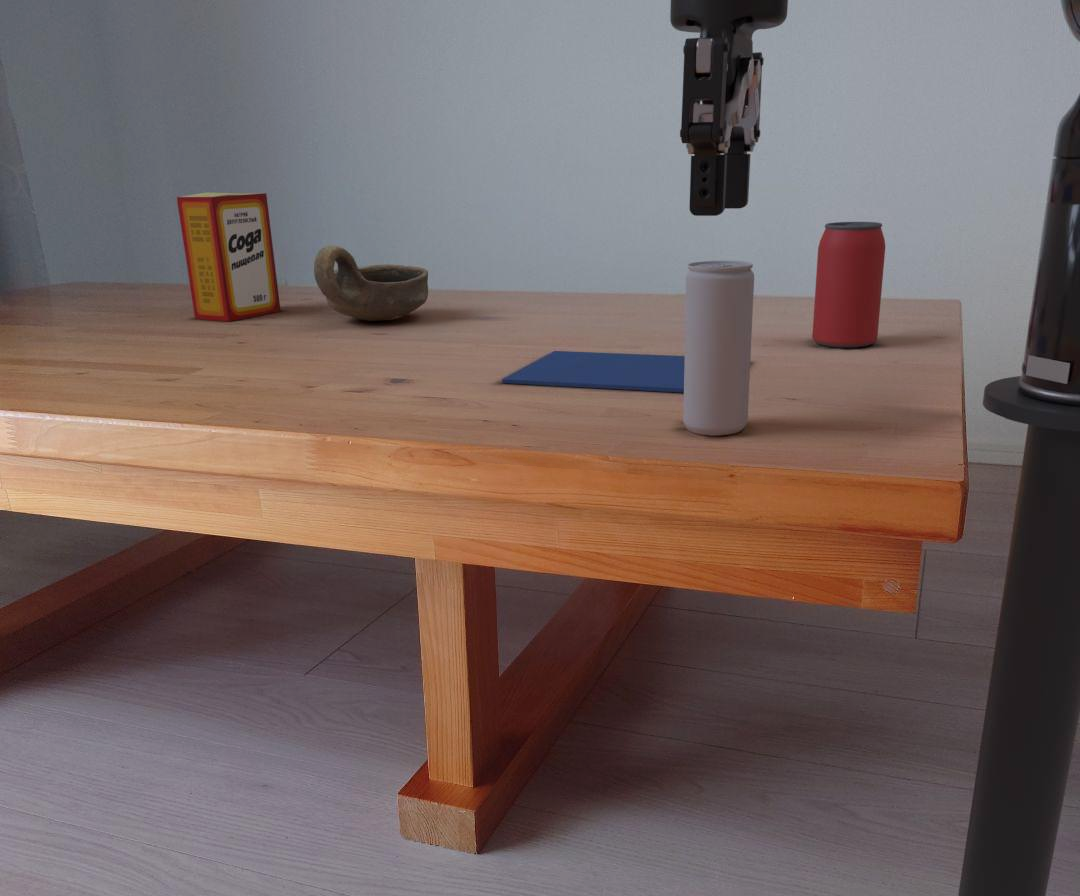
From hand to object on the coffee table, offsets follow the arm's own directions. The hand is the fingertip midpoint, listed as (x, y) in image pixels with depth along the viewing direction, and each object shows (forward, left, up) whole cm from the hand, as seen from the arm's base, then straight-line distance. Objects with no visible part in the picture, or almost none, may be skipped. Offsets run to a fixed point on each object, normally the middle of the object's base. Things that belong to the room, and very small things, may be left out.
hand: (720, 211), depth 70 cm
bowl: (+53, -41, -16) cm, 69 cm away
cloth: (+12, -18, -16) cm, 27 cm away
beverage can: (0, 0, -16) cm, 16 cm away
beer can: (-6, -37, -16) cm, 41 cm away
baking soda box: (+75, -43, -16) cm, 88 cm away
